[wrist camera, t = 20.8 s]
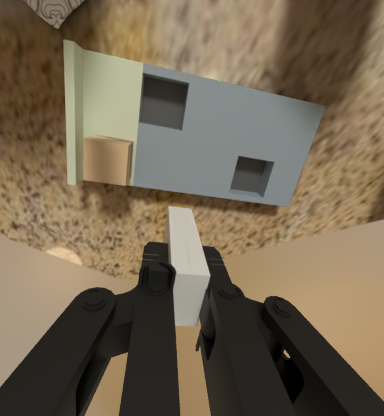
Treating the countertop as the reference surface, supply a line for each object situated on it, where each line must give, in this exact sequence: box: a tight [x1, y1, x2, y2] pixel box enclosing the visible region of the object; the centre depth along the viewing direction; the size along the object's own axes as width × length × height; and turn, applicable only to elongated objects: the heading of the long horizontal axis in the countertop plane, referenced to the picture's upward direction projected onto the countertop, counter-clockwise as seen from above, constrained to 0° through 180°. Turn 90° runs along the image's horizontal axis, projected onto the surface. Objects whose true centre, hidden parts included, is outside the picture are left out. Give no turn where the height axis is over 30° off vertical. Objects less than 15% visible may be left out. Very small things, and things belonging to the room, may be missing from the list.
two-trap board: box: [63, 39, 326, 207], centre depth 32 cm, size 34×16×6 cm, turn 80°
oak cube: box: [83, 135, 134, 186], centre depth 29 cm, size 5×5×5 cm
